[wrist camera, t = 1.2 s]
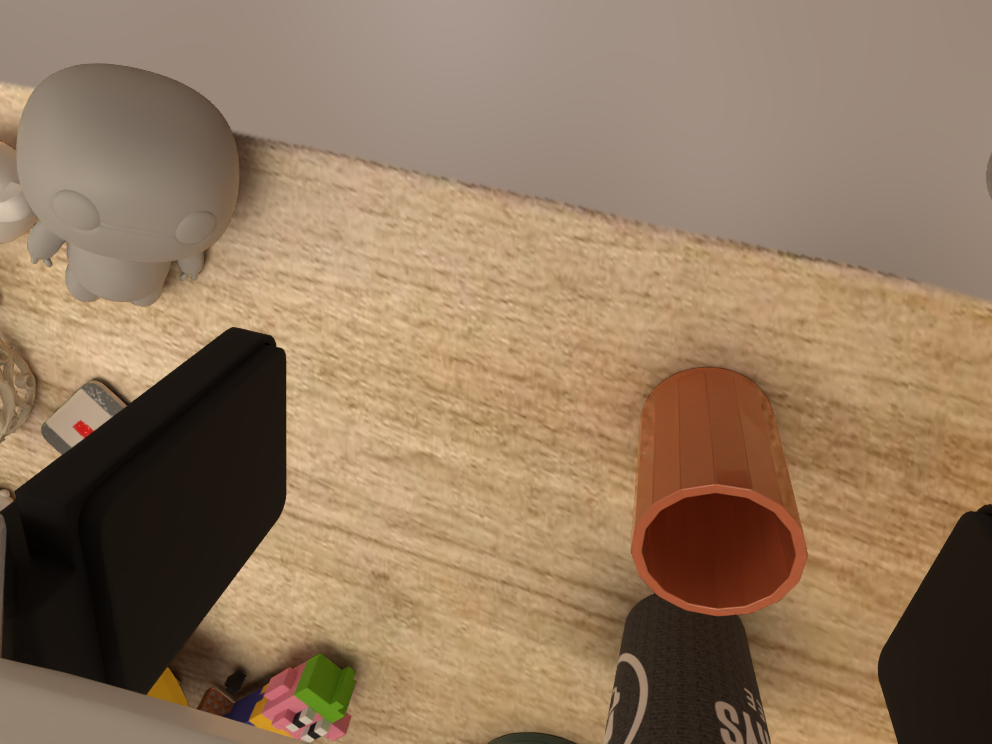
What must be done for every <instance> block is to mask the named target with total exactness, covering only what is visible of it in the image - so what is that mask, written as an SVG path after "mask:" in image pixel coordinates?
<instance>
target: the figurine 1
mask: <svg viewBox="0 0 992 744" xmlns="http://www.w3.org/2000/svg"><path fill="white" fill-rule="evenodd" d="M16 163H17V171H18V177H19V181H20V185H21V188H22V191H23V193H24V196H25V198H26V200H27V202H28V204H29V206H30V207H31V209H32V210H33V212H34V213H35V215H36V216H37V217H38V218H39V221H38V222H37V223H36V224H35V225H34V227H33V228H32V230H31V232H30V234H29V237H28V243H27V247H28V251H29V253H30V254H31V262H32V263H33V264H37V262H38V259H43V261H44V263H45V265H46V266H48V267H51V266H52V261H51V259H50V257H52V256H53V255H54V254H55V253H56V252H57V251H58V250H59V249H60V247H61V246H62V245H63V243H64V242H65V241H66V242H68V243H67V258H68V262H69V264H68V266H67V269H66V275H65V279H66V285H67V288H68V290H69V292H70V293H71V295H72V296H73V297H75V298H76V299H77V300H79V301H83V302H92V301H96V300H97V299H99V298H103V299H106V300H109V301H115V302H131V303H132V304H134V305H136V306H141V307H145V306H150V305H151V304H153V303H154V302H156V301H157V300H158V298H159V297H160V295H161V293H162V291H163V287H164V280H165V278H166V276H167V274H168V272H169V270H170V266H171V261H175V260H176V262H177V264H178V266H179V268H180V269H181V271H182V272H183V273H182V274H181V276H180V280H181V281H184V280H185V279H186V278H187V277H188V275H191V276H192V280H193V281H195V280H197V278H198V275H197V274H198V273H200V271H201V270H202V268H203V264H204V254H203V251H204V250H206V249H207V248H209V247H210V246H211V245H213V244H214V243H215V242H216V241H217V240H218V239H219V238H220V237H221V235H222V234H223V233H224V231H225V230H226V228H227V226H228V225H229V223H230V221H231V218H232V216H233V213H234V210H235V207H236V203H237V198H238V191H239V177H240V173H239V159H238V152H237V147H236V143H235V139H234V136H233V133H232V131H231V129H230V127H229V125H228V123H227V121H226V120H225V118H224V117H223V115H222V114H221V113H220V111H219V110H218V109H217V108H216V107H215V106H214V105H213V104H212V103H211V102H210V101H209V100H208V99H206V98H205V97H204V96H203V95H201V94H200V93H198V92H197V91H195V90H194V89H192V88H190V87H188V86H186V85H184V84H182V83H180V82H178V81H176V80H173V79H171V78H168V77H165V76H162V75H160V74H156V73H153V72H150V71H146V70H142V69H138V68H133V67H128V66H121V65H113V64H82V65H76V66H72V67H69V68H65V69H63V70H60V71H58V72H56V73H54V74H52V75H50V76H49V77H47V78H46V79H45V80H43V81H42V82H41V83H40V84H39V85H38V86H37V87H36V88H35V90H34V91H33V92H32V94H31V96H30V97H29V99H28V101H27V103H26V105H25V108H24V110H23V113H22V116H21V120H20V124H19V128H18V134H17V143H16Z"/></svg>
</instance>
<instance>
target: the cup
mask: <svg viewBox="0 0 992 744" xmlns="http://www.w3.org/2000/svg"><path fill="white" fill-rule="evenodd" d="M631 554H632V557H633V559H634V562H635V565H636V568H637V571H638V574H639V576H640V577H641V578H642V579H643V580H644V581H645V583H646V584H647V585H648V586H649V587H650V588H651V589H652V590H653V591H654V592H655V593H656V594H657V595H658V596H659V597H661V598H663V599H665V600H666V601H668V602H670V603H672V604H674V605H676V606H678V607H680V608H682V609H684V610H687V611H691V612H696V613H702V614H707V615H712V616H728V615H739V614H749V613H752V612H755V611H757V610H760V609H762V608H764V607H767V606H769V605H771V604H774V603H776V602H778V601H780V600H781V599H782V598H783V597H784V596H785V595H786V594H787V593H788V592H789V591H790V590H791V589H792V588H793V587H794V586H795V585H796V584H797V583H798V582H799V581H800V578H801V575H802V572H803V569H804V566H805V563H806V560H807V557H808V553H807V548H806V543H805V539H804V534H803V530H802V526H801V521H800V517H799V513H798V509H797V505H796V501H795V497H794V493H793V489H792V485H791V481H790V477H789V473H788V469H787V465H786V461H785V457H784V453H783V449H782V445H781V441H780V437H779V433H778V429H777V425H776V420H775V416H774V412H773V409H772V407H771V404H770V402H769V400H768V398H767V397H766V395H765V394H764V392H763V391H762V390H761V389H760V388H759V387H758V386H757V385H756V384H755V383H753V382H752V381H751V380H749V379H748V378H746V377H744V376H742V375H740V374H738V373H736V372H733V371H730V370H726V369H721V368H712V367H702V368H694V369H689V370H685V371H682V372H679V373H677V374H674V375H673V376H671V377H669V378H667V379H666V380H664V381H663V382H661V383H660V384H659V385H658V386H657V387H656V388H655V389H654V390H653V391H652V392H651V394H650V395H649V396H648V398H647V400H646V401H645V404H644V406H643V409H642V413H641V420H640V427H639V436H638V451H637V465H636V480H635V494H634V509H633V523H632V538H631Z"/></svg>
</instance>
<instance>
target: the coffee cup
mask: <svg viewBox="0 0 992 744" xmlns="http://www.w3.org/2000/svg"><path fill="white" fill-rule="evenodd" d="M603 744H771V741H770V736H769V732H768V728H767V723H766V719H765V715H764V711H763V706H762V702H761V698H760V693H759V689H758V685H757V681H756V676H755V672H754V668H753V663H752V659H751V655H750V650H749V646H748V642H747V638H746V633H745V630H744V627H743V624H742V622H741V621H740V619H739V618H738V616H737V615H728V616H712V615H707V614H702V613H696V612H691V611H687V610H684V609H682V608H680V607H678V606H676V605H674V604H672V603H670V602H668V601H666V600H665V599H663V598H661V597H659V596H658V595H657V594H655V595H652V596H650V597H648V598H646V599H644V600H642V601H641V602H639V603H638V604H637V605H636V606H635V607H634V608H633V609H632V610H631V612H630V613H629V615H628V617H627V619H626V622H625V627H624V632H623V638H622V643H621V649H620V654H619V660H618V665H617V671H616V676H615V682H614V687H613V692H612V698H611V703H610V709H609V714H608V720H607V725H606V730H605V736H604V741H603Z"/></svg>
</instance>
